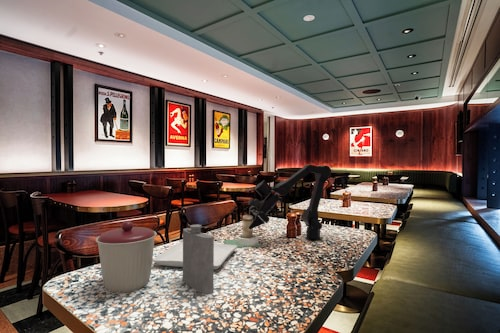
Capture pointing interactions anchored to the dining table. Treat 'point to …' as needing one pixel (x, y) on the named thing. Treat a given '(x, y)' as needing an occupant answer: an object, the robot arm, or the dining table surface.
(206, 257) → the hip flask
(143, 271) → the canister
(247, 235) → the tan tapered tumbler
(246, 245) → the octagonal cup coaster
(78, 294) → the dining table surface
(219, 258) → the square plate
